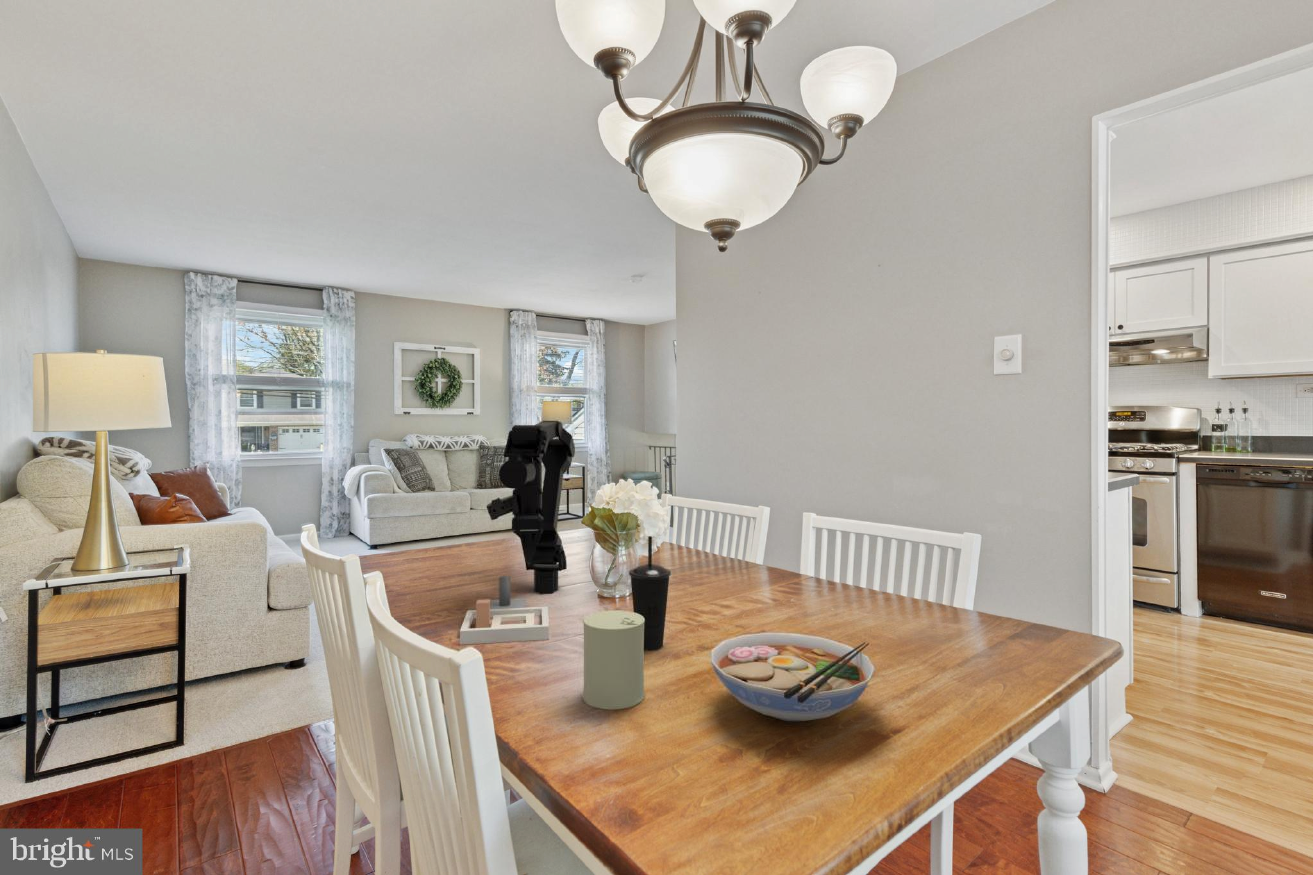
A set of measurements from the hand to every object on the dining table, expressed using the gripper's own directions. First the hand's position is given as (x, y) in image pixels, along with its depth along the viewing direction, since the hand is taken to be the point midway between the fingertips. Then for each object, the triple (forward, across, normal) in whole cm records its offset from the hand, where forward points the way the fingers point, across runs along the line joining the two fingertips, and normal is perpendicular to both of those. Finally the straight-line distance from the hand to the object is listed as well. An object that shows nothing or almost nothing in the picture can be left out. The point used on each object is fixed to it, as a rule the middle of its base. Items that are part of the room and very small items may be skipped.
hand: (528, 557), depth 134 cm
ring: (+11, +11, -4) cm, 16 cm away
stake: (+12, -3, -5) cm, 13 cm away
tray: (+12, +11, -4) cm, 17 cm away
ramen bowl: (+12, +53, +37) cm, 66 cm away
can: (+12, +44, +13) cm, 48 cm away
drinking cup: (+12, +24, +22) cm, 35 cm away
